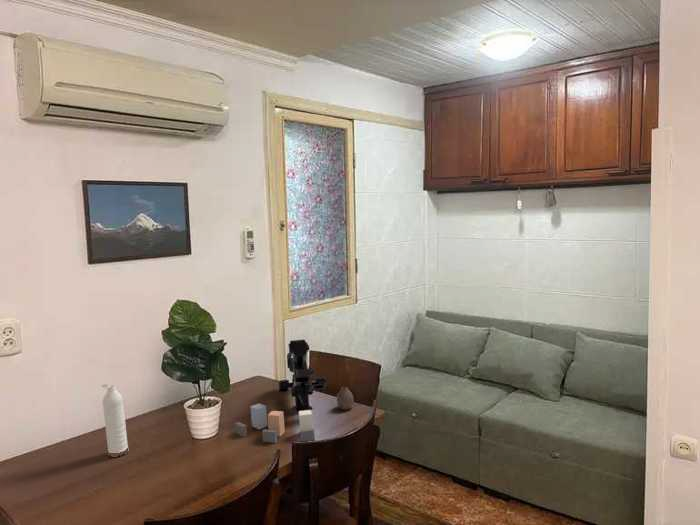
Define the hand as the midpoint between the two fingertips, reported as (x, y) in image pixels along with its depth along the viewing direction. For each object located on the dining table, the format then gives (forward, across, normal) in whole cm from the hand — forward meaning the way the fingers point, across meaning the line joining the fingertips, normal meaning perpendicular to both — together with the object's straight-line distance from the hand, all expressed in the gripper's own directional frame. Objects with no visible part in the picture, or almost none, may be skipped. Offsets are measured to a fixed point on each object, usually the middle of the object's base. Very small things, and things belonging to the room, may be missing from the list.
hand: (304, 405), depth 206 cm
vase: (-1, +18, +10) cm, 21 cm away
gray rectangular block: (+4, -17, +7) cm, 19 cm away
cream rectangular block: (+12, -1, -3) cm, 13 cm away
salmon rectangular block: (+10, -11, 0) cm, 15 cm away
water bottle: (+10, -68, +5) cm, 69 cm away
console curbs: (+12, -12, -1) cm, 17 cm away
